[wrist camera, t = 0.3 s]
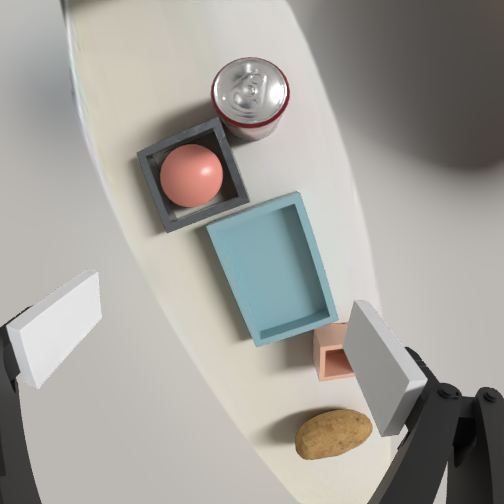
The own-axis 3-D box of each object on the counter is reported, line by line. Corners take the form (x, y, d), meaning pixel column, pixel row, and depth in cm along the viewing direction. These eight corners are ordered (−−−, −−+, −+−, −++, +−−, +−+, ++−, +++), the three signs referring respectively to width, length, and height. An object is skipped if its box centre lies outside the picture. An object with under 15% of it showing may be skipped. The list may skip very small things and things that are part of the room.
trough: (209, 222, 40) (206, 226, 37) (296, 191, 38) (300, 192, 35) (256, 336, 44) (256, 347, 41) (333, 310, 43) (338, 320, 40)
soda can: (260, 151, 37) (263, 142, 26) (212, 123, 36) (194, 103, 25) (290, 106, 36) (305, 79, 24) (242, 78, 35) (237, 42, 23)
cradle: (144, 153, 37) (136, 152, 34) (220, 121, 36) (218, 117, 33) (173, 228, 40) (167, 233, 37) (250, 199, 39) (249, 202, 36)
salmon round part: (157, 159, 37) (151, 159, 34) (211, 136, 36) (209, 134, 34) (178, 213, 38) (173, 216, 36) (232, 192, 38) (231, 193, 35)
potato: (367, 421, 49) (378, 450, 41) (298, 441, 50) (302, 472, 43) (362, 389, 47) (375, 419, 39) (286, 412, 48) (289, 445, 40)
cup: (313, 325, 43) (320, 346, 37) (351, 320, 43) (363, 341, 37) (312, 358, 45) (319, 381, 39) (349, 353, 45) (359, 375, 39)
